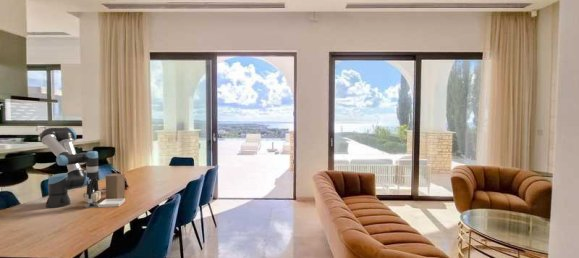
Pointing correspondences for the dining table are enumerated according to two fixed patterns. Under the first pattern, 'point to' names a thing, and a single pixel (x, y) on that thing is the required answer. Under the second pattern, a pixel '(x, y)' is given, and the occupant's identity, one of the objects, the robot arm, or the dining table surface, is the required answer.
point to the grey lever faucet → (92, 203)
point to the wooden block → (115, 186)
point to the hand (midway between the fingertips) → (92, 201)
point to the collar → (94, 196)
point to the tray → (111, 202)
